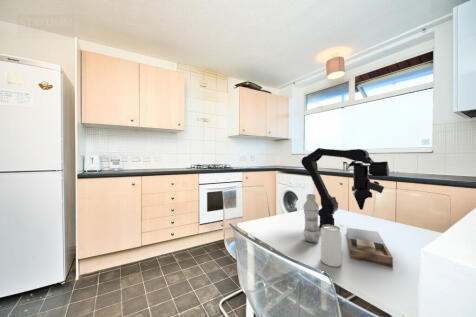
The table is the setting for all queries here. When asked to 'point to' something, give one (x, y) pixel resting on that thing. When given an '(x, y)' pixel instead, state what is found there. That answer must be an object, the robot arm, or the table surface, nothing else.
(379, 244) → the plate
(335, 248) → the can
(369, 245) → the tile
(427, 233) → the table surface
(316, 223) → the plastic bottle
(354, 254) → the box
